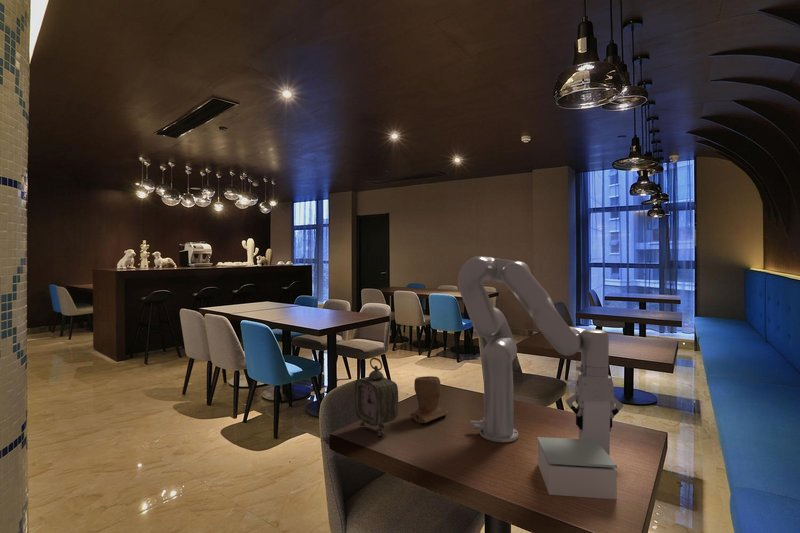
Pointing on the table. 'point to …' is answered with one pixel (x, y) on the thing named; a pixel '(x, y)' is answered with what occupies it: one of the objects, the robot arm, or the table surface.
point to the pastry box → (578, 479)
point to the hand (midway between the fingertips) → (593, 428)
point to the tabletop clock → (376, 399)
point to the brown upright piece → (428, 399)
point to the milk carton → (596, 423)
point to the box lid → (575, 452)
